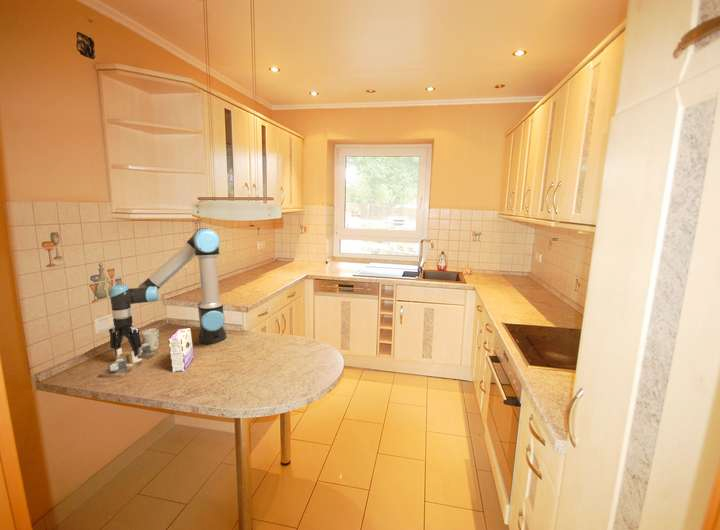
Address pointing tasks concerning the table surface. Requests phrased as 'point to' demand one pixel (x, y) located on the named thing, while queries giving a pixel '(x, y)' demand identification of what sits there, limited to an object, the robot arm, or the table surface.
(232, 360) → the table surface
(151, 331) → the mug
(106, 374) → the shaft bed
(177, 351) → the candy box
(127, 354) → the block
